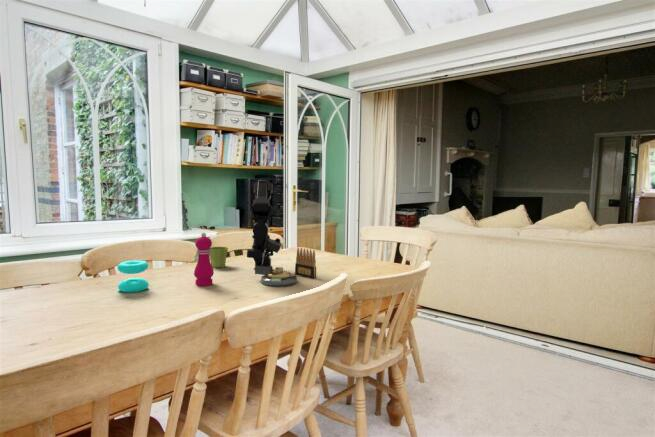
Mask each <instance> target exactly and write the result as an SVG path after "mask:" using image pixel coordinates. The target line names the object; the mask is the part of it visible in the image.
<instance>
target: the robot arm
mask: <svg viewBox="0 0 655 437" xmlns="http://www.w3.org/2000/svg"><path fill="white" fill-rule="evenodd" d="M253 193H255V194H254V195H255V199H253V204H251V208H250V209H251V212H250V214H251V215H250V220H251V221H253V227H252V234H253V235H252V239H253V243H252V245H251V248H250V249H249V250H248V251H247V252H246V258H247V259H249V258H250V259H253V261H254V266H255V265H265V266H272V258H271V257H272V256H274V253H277V254H278V252H280V250H281V247H282V245H283V244H282V242H281V239H280V238H278V237H277V238H275V239H271V238H270V237H271V236H270V234H269V221H271V219H272V218H273V207H272V205H271V204H270V200H271V198H272V194H273V183H272V182H270V181H269V180H266V179H263V180H261V179H260V180H259V179H258V180H256V181H255V182H254V183H253ZM253 270H254V271H255V267H254V268H253Z"/></svg>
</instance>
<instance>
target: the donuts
mask: <svg viewBox="0 0 655 437" xmlns="http://www.w3.org/2000/svg"><path fill="white" fill-rule="evenodd" d="M148 268H149V264H148V262H147V261H145V260H134V259H133V260H125V261H123V262H120V263H119V264H118V265H117V270H118V272H120V273H122V274H126V275H135V274H140V273H143V272H145V271H147V270H148ZM148 287H149V281H147V279H145V278H142V277H141V278H140V277H139V278H138V277H132V278H127V279H124V280H122V281H120V282H119V283H118V285H117V289H118V290H119V291H120V292H122V293H138V292H143V291H144V290H146V289H147V288H148Z"/></svg>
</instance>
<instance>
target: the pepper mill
mask: <svg viewBox="0 0 655 437" xmlns="http://www.w3.org/2000/svg"><path fill="white" fill-rule="evenodd" d="M195 247H196V251H197V252H196V253H197V255H198V256H197V258H198V259H197V262H196V266H195V267H194V271H193V272H194V273H193V275H194V277H195V278H196V279H195V285H196V286H198V287H208V286H212V284H213V276H214V273H215V272H214V268H213V267H212V265H211V260H210V254H209V253H211V252H210V247H213V243H212V239H211V238H210V237H207V234H206V233H205V232H202V233H201V234H200V236H199V237H198V238H197V239H196V240H195Z"/></svg>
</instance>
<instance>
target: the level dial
mask: <svg viewBox="0 0 655 437" xmlns="http://www.w3.org/2000/svg"><path fill="white" fill-rule="evenodd" d="M254 268H255V270H254V274H255V275H261V276H264V275H268V278H270V279H272V278H281V279H288V278H290V277H291V271H288V270H284V267H281V266H277V267H275V268H274V269H275V270H273V265H271V266H265V265H255V264H254Z"/></svg>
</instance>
